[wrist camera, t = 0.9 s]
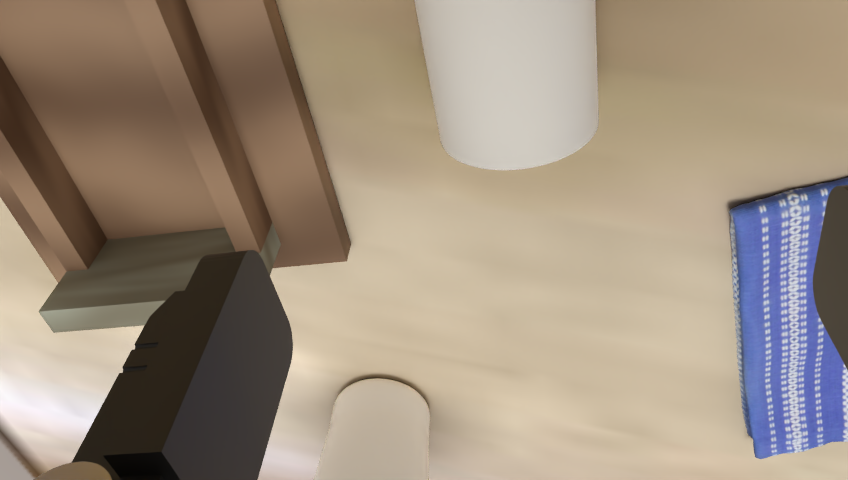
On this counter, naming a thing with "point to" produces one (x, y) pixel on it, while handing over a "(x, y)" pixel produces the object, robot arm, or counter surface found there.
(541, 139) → the roll
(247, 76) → the cradle
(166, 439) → the robot arm
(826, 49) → the counter surface
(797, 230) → the dish towel
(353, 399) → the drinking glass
